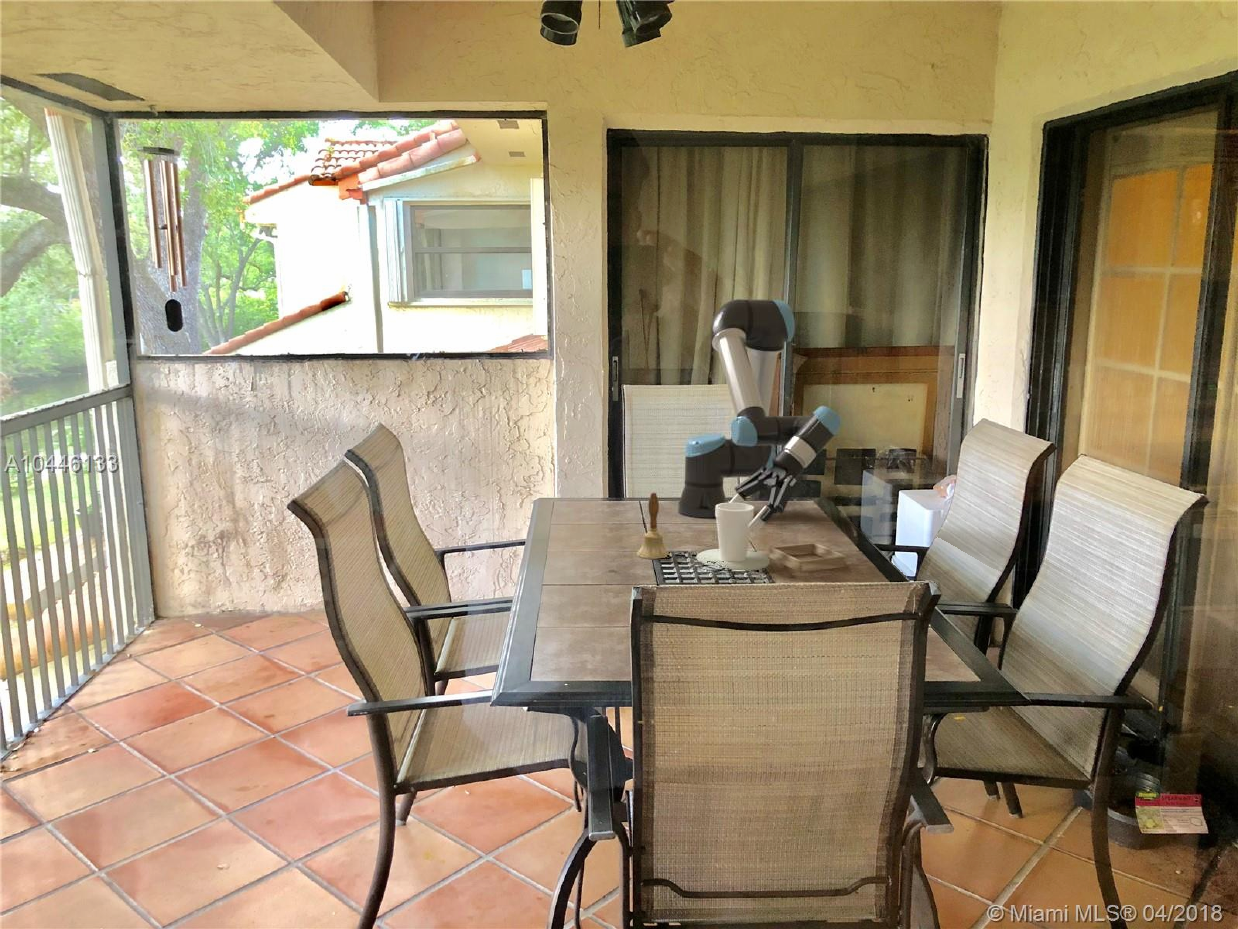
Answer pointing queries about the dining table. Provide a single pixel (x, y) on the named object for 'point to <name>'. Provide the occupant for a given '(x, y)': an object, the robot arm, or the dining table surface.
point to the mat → (750, 563)
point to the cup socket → (827, 562)
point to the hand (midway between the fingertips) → (737, 523)
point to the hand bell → (653, 535)
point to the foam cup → (733, 530)
